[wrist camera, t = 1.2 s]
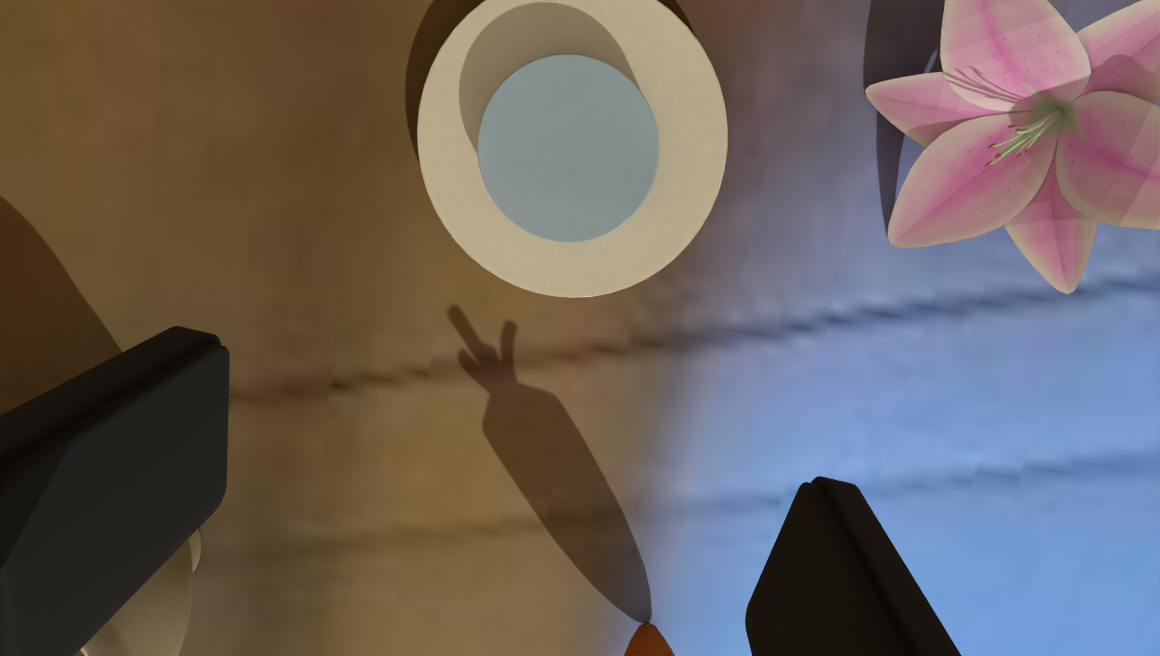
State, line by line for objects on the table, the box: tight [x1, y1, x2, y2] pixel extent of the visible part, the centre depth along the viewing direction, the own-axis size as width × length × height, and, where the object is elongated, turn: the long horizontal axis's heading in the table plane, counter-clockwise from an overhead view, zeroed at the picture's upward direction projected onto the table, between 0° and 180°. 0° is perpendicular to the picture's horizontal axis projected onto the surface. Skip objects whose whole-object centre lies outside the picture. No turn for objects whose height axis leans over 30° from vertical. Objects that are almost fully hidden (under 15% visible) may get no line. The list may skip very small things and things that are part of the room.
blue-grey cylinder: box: [477, 53, 659, 243], centre depth 25 cm, size 7×7×2 cm
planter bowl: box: [75, 528, 201, 656], centre depth 30 cm, size 16×16×11 cm
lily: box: [865, 0, 1160, 294], centre depth 22 cm, size 12×12×10 cm
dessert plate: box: [417, 0, 728, 298], centre depth 26 cm, size 13×13×1 cm
